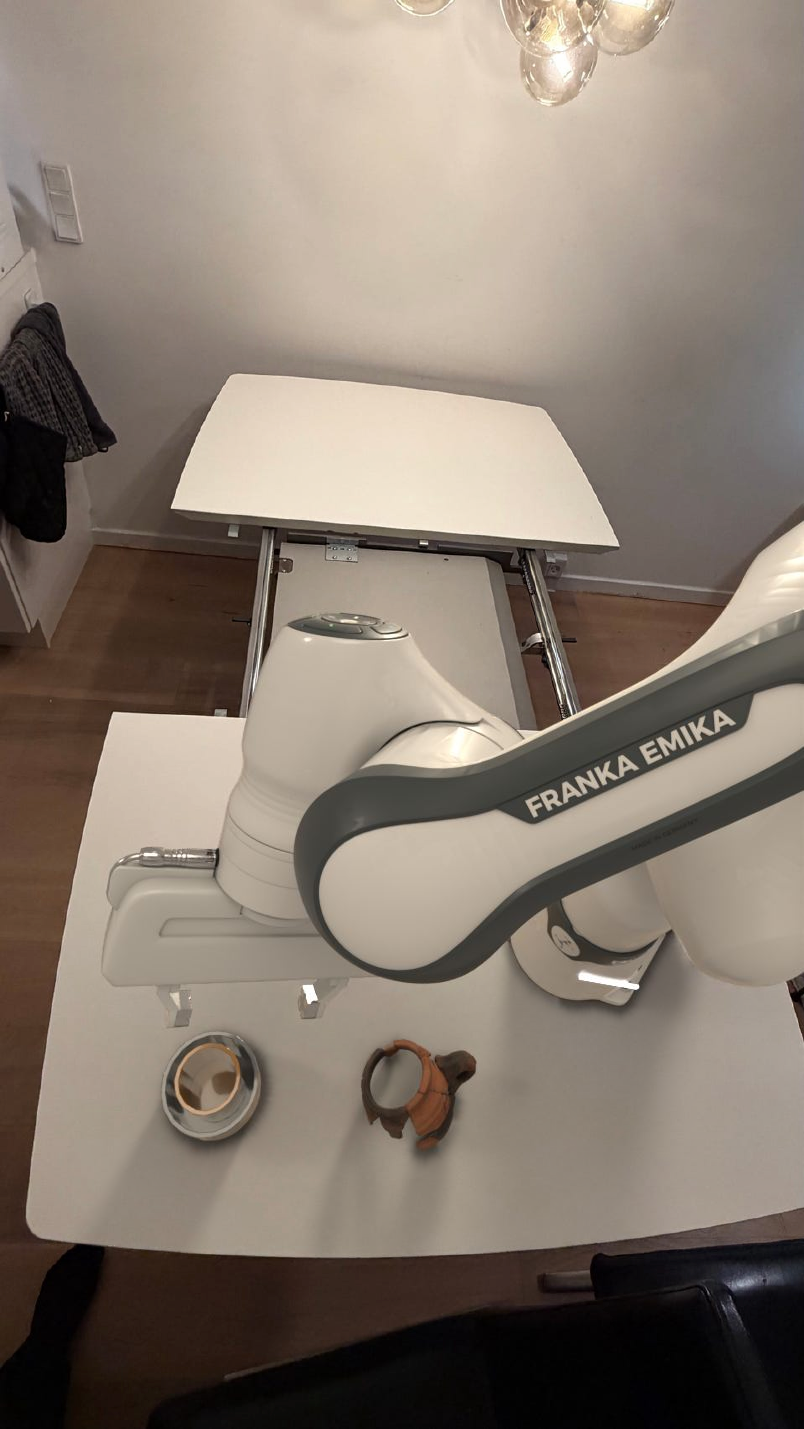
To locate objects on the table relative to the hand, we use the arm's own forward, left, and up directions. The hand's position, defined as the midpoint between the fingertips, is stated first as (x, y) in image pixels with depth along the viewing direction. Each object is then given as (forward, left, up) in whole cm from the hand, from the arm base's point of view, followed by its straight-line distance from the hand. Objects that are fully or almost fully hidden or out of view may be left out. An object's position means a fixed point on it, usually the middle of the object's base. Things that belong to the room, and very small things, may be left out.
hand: (245, 1016), depth 48 cm
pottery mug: (-11, +12, -27) cm, 32 cm away
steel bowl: (+5, -1, -27) cm, 28 cm away
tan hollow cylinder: (+5, -1, -27) cm, 27 cm away
